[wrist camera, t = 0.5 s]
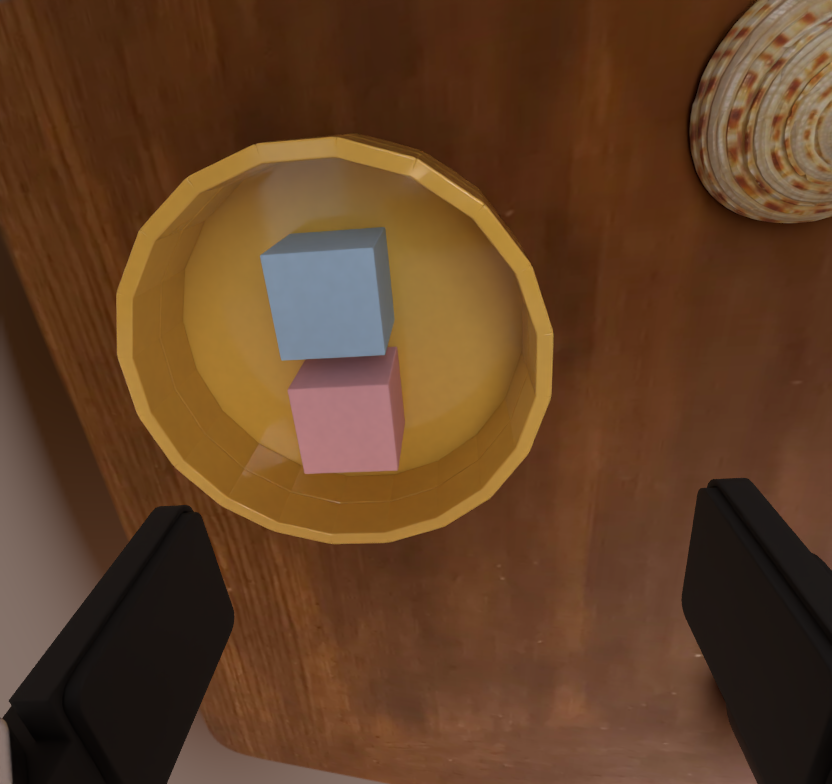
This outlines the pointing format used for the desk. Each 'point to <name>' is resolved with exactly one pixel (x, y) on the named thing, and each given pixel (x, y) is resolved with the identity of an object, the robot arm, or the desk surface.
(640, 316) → the desk surface
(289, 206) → the bowl
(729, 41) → the seashell
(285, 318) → the toy blue
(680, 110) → the desk surface
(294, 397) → the toy pink
